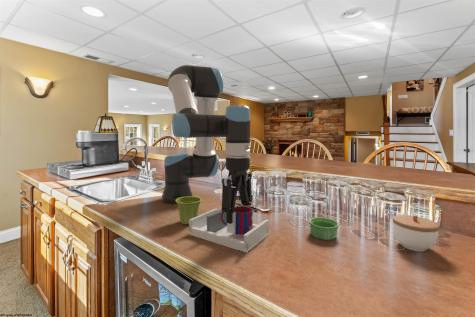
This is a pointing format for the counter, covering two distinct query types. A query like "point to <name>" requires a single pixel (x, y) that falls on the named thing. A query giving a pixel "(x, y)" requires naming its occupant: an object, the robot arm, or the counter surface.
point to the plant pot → (188, 208)
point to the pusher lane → (228, 239)
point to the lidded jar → (415, 232)
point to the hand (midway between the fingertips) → (237, 228)
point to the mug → (242, 219)
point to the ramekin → (323, 228)
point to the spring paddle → (215, 221)
